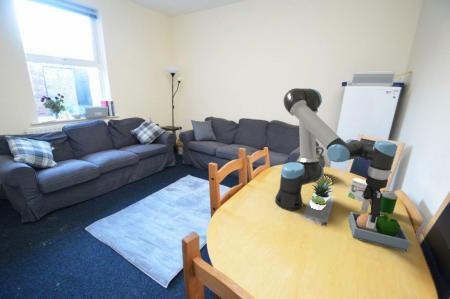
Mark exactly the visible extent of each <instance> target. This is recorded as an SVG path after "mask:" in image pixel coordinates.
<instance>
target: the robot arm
mask: <svg viewBox="0 0 450 299" xmlns="http://www.w3.org/2000/svg"><path fill="white" fill-rule="evenodd" d="M322 101H323V98H322V95H321V93H320V91H318V90H317V89H314V88H298V87H296V88H291V89H290V90H288V91H287V92H286V93H285V95H284V97H283V106H284V108H285V110H286V112H288V113H289V114H290V115H291V116H293V117H295V118H296V119H297V120H298V126H299V128H298V129H299V130H298V131H299V132H298V133H299V134H298V135H299V154H300V155H299V156H300V158H299V157H298V158H299V159H298V158H297V159H298V163H296V161H294V162H292V161H291V162H286V163H285V164H284V165H283V166H282V167H281V172H280V179H279V180H280V181H279V182H280V183H279V189H278V191H277V194H276V195H275V198H274V203H275V204H276V205H277V206H278V207H280V208H282V209H284V210H288V211H297V210H300V209H302V208H303V203H304V202H303V198H302V187H303V186H304V185H309V184H313V183H316V182H319V181H320V180H321V179H322V178H323V176H324V171H325V170H324V168H323V166H321V164H320V163H319V159H318V158H317V157H316V151H317V149H316V146H317V143H316V142H317V141H318V142H319V143H320V144H321V145H322V146H323V148H325V149H326V155H327V158H328V160H330V161H331V162H333V163H344V162H346V161H350V160H354V159H361V160H365V161H370V162H369V164H368V169H367V175H366V179H365V181H366V183H367V186H366V188H365V190H364V192H363V195H364V196H363V198H364V199H363V202H362V201H361V206H360V212H364V213H368V214H369V217H368V221H367V225H366V227H368V228H372V229H374V227H375V223H376V220H377V217H380V215H381V214H380V210H381V200H382V196H383V194H382V193H381V189H386V188H387V186H388V182H389V180H388V179H389V178H390V174H392V173H393V172H392V171H391V170H392V167H393V164H394V160H395V158H396V156H397V155H396V154H397V148H398V145H397V143H394V142H392V141H387V140H376V141H375V142H374V143H370V142H367V141H362V140H359V139H351V138H350V139H347V140H346V141H344V139H343V138H341V137H340V136H339V135H338V134H337V133H336V132H335V130H333V129H332V128H331V127H330V126H328V124H327V123H326V122H325V121H324V120H322V119H321V118H320V116H318V115H317V113H318V112H319V111H318V109H319V108H320V107H321V104H322ZM321 177H322V178H321ZM320 178H321V179H320ZM319 179H320V180H319ZM369 207H370V212H368V210H369Z"/></svg>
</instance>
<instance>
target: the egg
mask: <svg viewBox="0 0 450 299" xmlns="http://www.w3.org/2000/svg"><path fill="white" fill-rule="evenodd" d="M361 214H362V215H360V216H359V217H358V218H357V222H356V223H357V226H358V228H359V229H363V230H367V231H373V230H374V229H375V227H376V223H375V227H374V229H372V228H368V227H366V225H367V221H368V217H369V213H361Z"/></svg>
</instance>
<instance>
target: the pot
mask: <svg viewBox="0 0 450 299" xmlns="http://www.w3.org/2000/svg"><path fill="white" fill-rule="evenodd" d="M320 150H321V152H320ZM324 151H325V150H324V147H322V146H319V145H318V146H317V145H316V157H317V158H318V159H319V163H320V164H321V166H323V169H324V168H325V167H326V160H325V156H324V155H323V154H324ZM299 158H300V155H299V156H298V158H297V159H296V160H295V162H296V163H298V159H299Z"/></svg>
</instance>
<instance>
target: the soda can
mask: <svg viewBox="0 0 450 299" xmlns="http://www.w3.org/2000/svg"><path fill="white" fill-rule="evenodd" d="M380 191H381V190H380ZM381 193H382V194H383V196H382V200H381V210H380V215H381V216H383V215H386V214H385V212H387V213H388V214H389V215H390V216H392V215H393V214H394V211H395V208H396V204H397V201H398V195H397V194H396V193H395V192H393V191H390V190H384V189H383V190H382V191H381ZM386 216H387V215H386Z"/></svg>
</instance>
